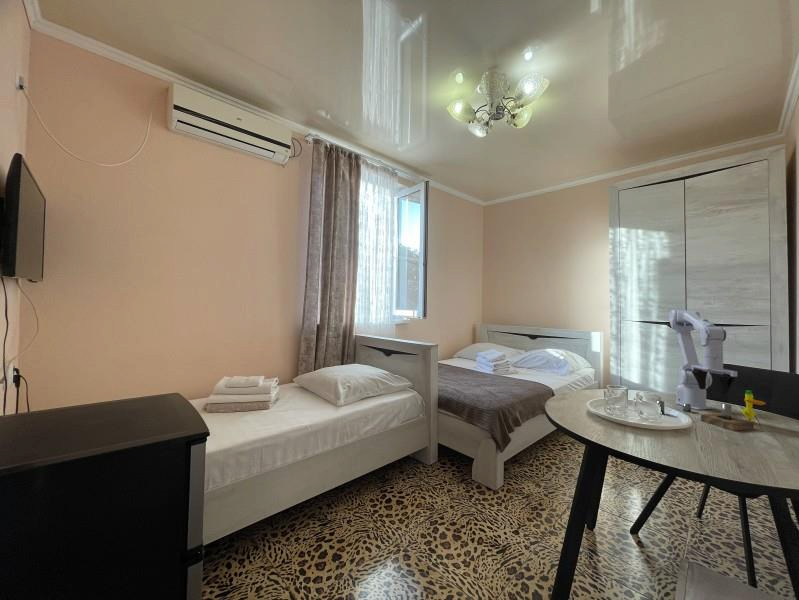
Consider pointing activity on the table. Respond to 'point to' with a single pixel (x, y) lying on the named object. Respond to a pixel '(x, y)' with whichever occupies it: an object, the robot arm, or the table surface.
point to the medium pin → (661, 405)
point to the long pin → (726, 411)
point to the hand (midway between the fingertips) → (713, 391)
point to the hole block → (727, 422)
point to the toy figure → (750, 405)
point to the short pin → (686, 407)
